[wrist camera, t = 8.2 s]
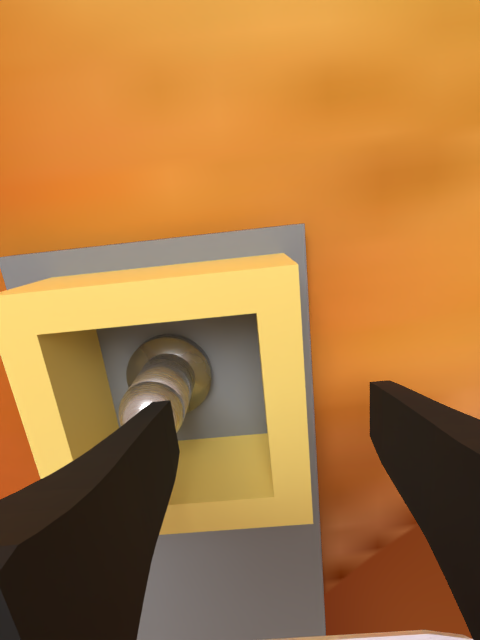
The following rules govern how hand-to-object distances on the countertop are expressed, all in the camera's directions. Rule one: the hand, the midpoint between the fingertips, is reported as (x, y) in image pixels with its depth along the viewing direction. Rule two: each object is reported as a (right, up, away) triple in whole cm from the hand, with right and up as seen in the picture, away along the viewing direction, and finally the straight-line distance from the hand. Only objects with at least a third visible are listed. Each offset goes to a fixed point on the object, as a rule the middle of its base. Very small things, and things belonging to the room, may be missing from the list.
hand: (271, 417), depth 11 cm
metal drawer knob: (-4, +1, +4) cm, 6 cm away
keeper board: (-4, -6, +7) cm, 10 cm away
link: (-4, +1, +4) cm, 6 cm away
